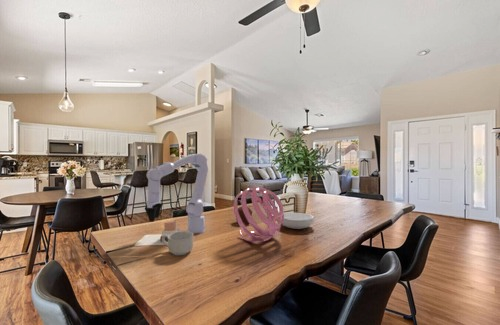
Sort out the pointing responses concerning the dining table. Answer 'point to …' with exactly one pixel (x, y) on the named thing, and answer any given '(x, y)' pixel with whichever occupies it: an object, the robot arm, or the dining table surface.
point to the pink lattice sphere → (260, 214)
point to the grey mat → (150, 240)
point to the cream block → (170, 231)
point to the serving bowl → (297, 220)
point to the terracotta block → (169, 225)
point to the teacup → (179, 242)
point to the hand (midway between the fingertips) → (154, 219)
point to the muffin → (244, 215)
